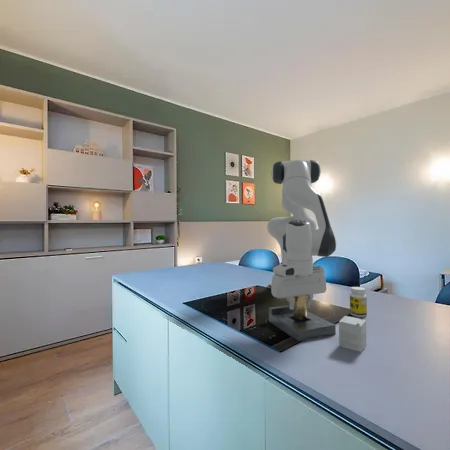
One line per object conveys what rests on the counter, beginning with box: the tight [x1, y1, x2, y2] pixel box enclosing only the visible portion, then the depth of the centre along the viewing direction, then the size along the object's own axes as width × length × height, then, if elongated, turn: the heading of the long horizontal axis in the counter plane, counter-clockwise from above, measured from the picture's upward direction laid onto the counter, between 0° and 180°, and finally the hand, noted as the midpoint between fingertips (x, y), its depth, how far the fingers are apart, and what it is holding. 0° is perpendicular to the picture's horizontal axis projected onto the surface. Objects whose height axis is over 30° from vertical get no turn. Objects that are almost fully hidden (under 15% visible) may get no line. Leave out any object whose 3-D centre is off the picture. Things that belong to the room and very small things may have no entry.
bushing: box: [292, 295, 308, 320], centre depth 91 cm, size 4×4×8 cm
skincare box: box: [338, 315, 367, 353], centre depth 78 cm, size 6×6×7 cm
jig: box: [268, 304, 337, 342], centre depth 92 cm, size 18×14×5 cm
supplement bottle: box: [349, 286, 368, 318], centre depth 103 cm, size 6×6×10 cm
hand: (299, 308), depth 91 cm, fingers closed on bushing, 4 cm apart
